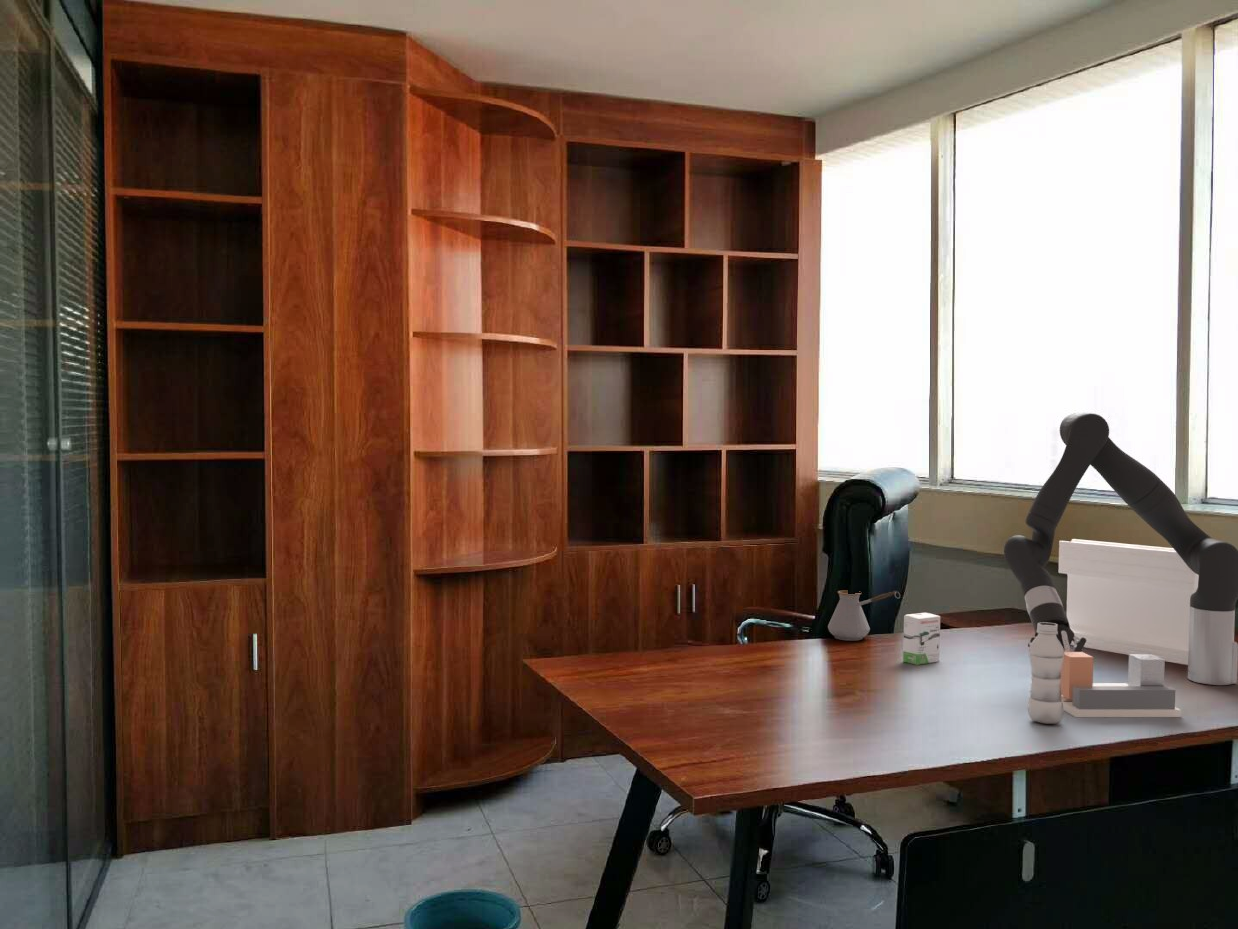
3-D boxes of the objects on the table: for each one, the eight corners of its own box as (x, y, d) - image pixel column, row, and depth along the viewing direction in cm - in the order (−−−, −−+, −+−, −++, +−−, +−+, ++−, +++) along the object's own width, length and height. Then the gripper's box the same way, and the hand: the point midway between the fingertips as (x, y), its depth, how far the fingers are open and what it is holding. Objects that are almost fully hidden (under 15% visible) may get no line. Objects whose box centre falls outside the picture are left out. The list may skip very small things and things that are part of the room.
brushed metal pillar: (1127, 696, 227) (1128, 654, 227) (1150, 696, 227) (1151, 654, 227) (1139, 702, 222) (1141, 659, 222) (1163, 702, 222) (1164, 659, 222)
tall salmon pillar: (1058, 693, 229) (1059, 651, 228) (1081, 693, 229) (1082, 652, 229) (1068, 699, 224) (1069, 657, 223) (1092, 699, 224) (1093, 657, 224)
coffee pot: (819, 637, 296) (820, 584, 295) (843, 632, 303) (844, 580, 303) (886, 650, 280) (887, 593, 279) (909, 644, 288) (910, 589, 287)
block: (1204, 661, 270) (1208, 551, 269) (1191, 665, 265) (1195, 554, 264) (1070, 638, 297) (1073, 539, 296) (1056, 642, 292) (1059, 541, 290)
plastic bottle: (1060, 729, 209) (1062, 628, 208) (1024, 724, 212) (1026, 624, 212) (1065, 721, 214) (1068, 623, 213) (1030, 716, 218) (1033, 619, 217)
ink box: (917, 665, 263) (918, 618, 262) (901, 661, 267) (902, 615, 266) (940, 661, 267) (941, 614, 267) (924, 657, 272) (925, 611, 271)
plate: (1030, 689, 240) (1031, 665, 239) (1126, 689, 240) (1127, 665, 240) (1075, 717, 218) (1075, 690, 217) (1180, 717, 218) (1181, 690, 218)
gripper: (1022, 601, 238) (1044, 668, 226) (1080, 601, 238) (1105, 668, 227) (1012, 620, 244) (1033, 686, 232) (1069, 620, 244) (1093, 686, 232)
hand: (1068, 677), depth 229 cm, fingers closed
